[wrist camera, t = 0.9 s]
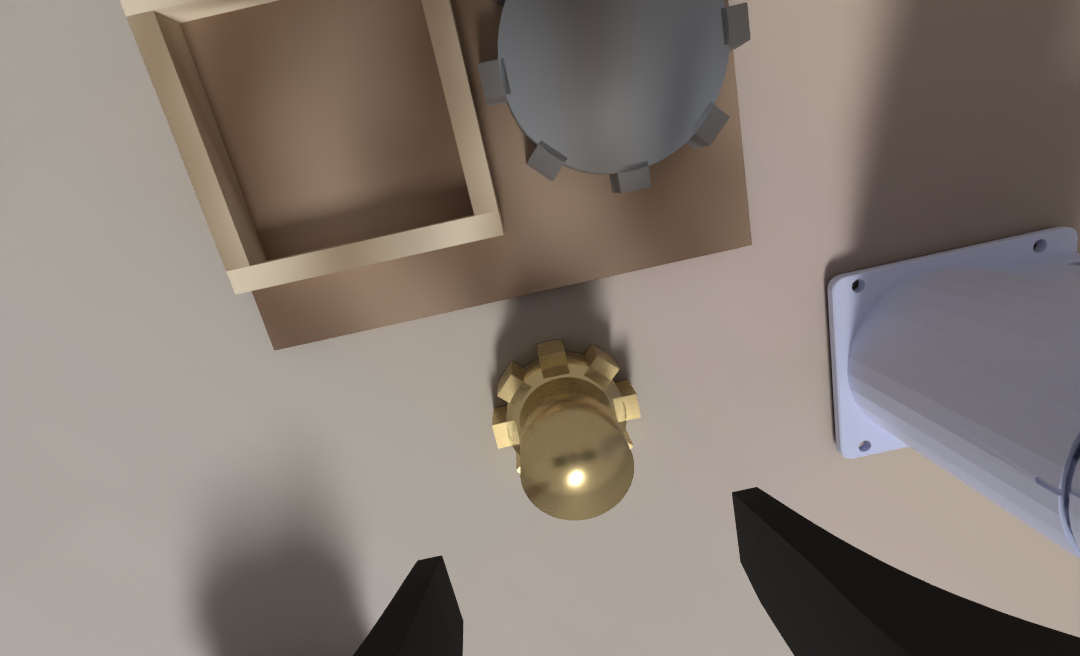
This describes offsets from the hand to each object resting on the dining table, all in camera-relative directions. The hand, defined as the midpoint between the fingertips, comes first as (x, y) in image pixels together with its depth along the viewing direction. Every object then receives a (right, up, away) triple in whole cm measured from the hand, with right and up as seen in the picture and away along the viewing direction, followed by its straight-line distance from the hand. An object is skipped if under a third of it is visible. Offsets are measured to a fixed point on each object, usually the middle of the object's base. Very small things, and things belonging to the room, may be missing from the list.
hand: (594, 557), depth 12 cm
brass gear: (0, +2, +8) cm, 9 cm away
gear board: (-4, +13, +5) cm, 15 cm away
